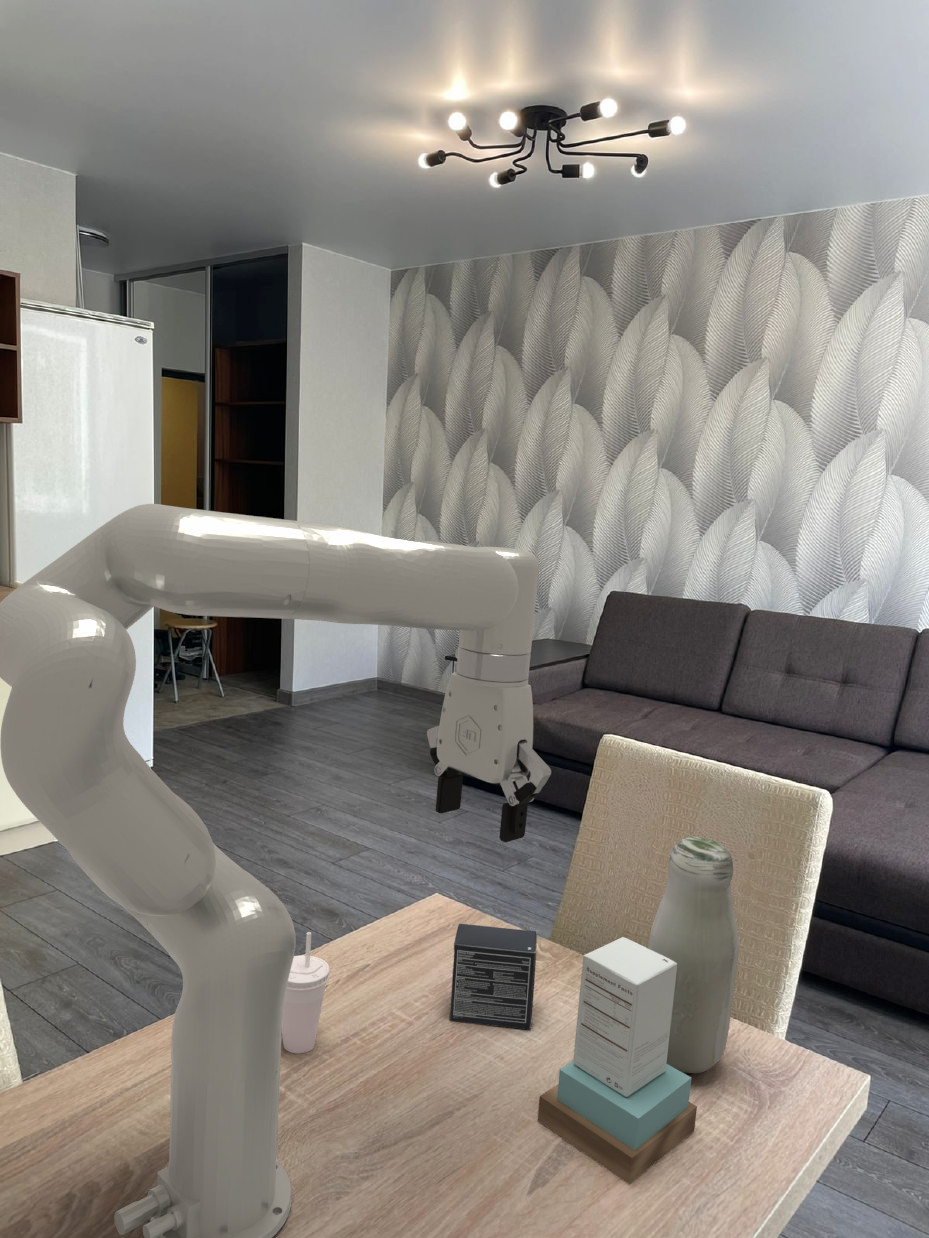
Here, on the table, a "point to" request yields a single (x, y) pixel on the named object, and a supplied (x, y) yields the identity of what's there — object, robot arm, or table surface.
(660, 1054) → the supplement box
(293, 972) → the smoothie
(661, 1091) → the tower top
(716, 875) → the glass bottle
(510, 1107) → the table surface
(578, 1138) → the tower base
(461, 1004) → the small box
